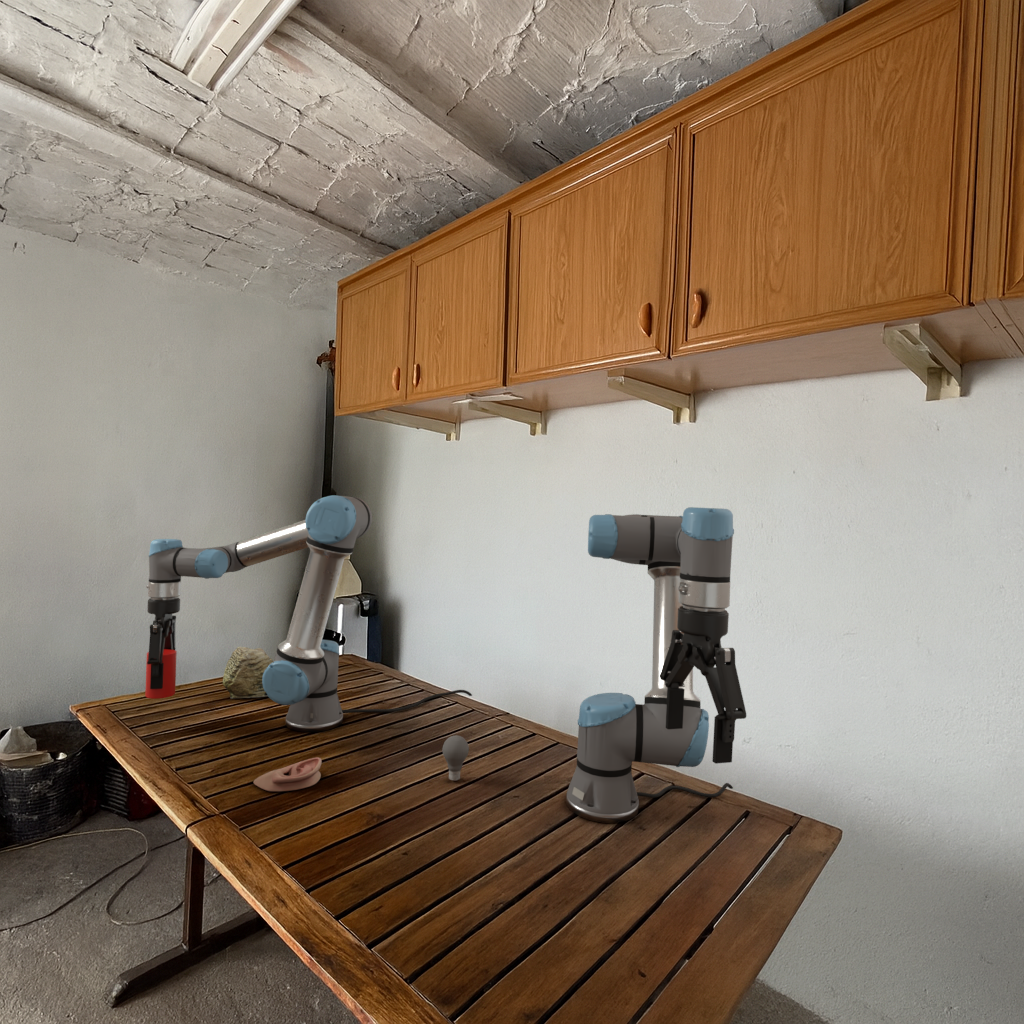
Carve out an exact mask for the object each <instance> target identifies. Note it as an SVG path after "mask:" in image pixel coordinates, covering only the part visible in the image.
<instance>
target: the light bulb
mask: <svg viewBox="0 0 1024 1024" xmlns="http://www.w3.org/2000/svg"><path fill="white" fill-rule="evenodd" d="M469 752H470V746H469V743H468V742H467V740H466V739H465V738H464V737H463V736H461V735H457V734H456V735H455V734H454V735H451V736H449V737H448V738H447V739H446V740H445V741H444V743H443V745H442V755H443V757H444V760H445V761H446V764H447V769H448V779H449V780H450V781H453V782H456V781H458V780H460V779H461V770H462V768H463V764H464V762H465V760H466V759H467V758H468V756H469Z"/></svg>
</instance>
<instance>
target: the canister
mask: <svg viewBox="0 0 1024 1024" xmlns="http://www.w3.org/2000/svg"><path fill="white" fill-rule="evenodd" d="M177 652H178V651H177V650H176V649H175V650H172V649H164V652H163V659H162V663H164V664H163V688H162V689H150V682H151V664H147V662H148V656H149V651H147V652H146V660H145V661H146V663H145V692H144V693H145V694H144V695H145V698H148V699H151V700H153V699H154V700H155V699H156V700H157V699H165V698H170V697H173V696H174V695H175V694H176V683H177V682H176V681H177V680H176V679H177V656H178V655H177V654H178V653H177ZM154 659H156V658H154Z"/></svg>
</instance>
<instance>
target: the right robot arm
mask: <svg viewBox="0 0 1024 1024" xmlns="http://www.w3.org/2000/svg"><path fill="white" fill-rule="evenodd" d="M734 534H735V529H734V514H733V511H732V510H731V509H728V508H718V507H717V508H715V507H693V506H690V507H686V508H685V509H684V510H683V514H682V515H678V516H677V515H674V516H673V515H657V514H656V515H653V514H652V515H651V514H637V513H636V514H635V513H634V514H633V513H632V514H624V515H620V514H619V515H617V514H611V513H610V514H609V513H606V514H593V515H591V516H590V518H589V521H588V535H587V553H588V555H589V556H590V557H593V558H598V559H599V558H601V559H604V560H614V561H617V562H621V563H625V564H631V565H639V566H647V575H648V576H649V577H650V578H651V579H652V580H653V617H652V618H653V622H652V625H653V626H652V629H653V630H652V666H651V667H652V669H651V671H652V674H651V675H652V676H651V689H650V690H649V691H648V692H647V693H646V694H645V695H644V704H642V703H641V704H640V703H636V700H635V697H633V696H632V695H631V694H628V693H622V692H602V693H597V694H593V695H590V696H588V697H586V698H584V699H583V700H582V701H581V703H580V706H579V713H578V714H579V715H578V719H577V725H578V731H577V732H578V733H577V750H576V767H575V769H574V772H573V775H572V778H571V780H570V782H569V786H568V788H567V791H566V798H565V799H566V801H565V802H566V806H567V807H568V808H567V809H569V811H571V812H572V813H574V815H577V816H578V817H581V818H583V819H585V820H589V821H592V822H596V823H603V824H604V823H605V824H618V823H624V822H627V821H630V820H632V819H633V818H635V817H636V816H638V813H639V808H640V806H639V805H640V800H639V797H643V798H644V797H645V798H651V799H656V798H660V797H661V796H663V795H664V794H665V793H666V792H667V791H671V790H675V791H676V790H677V791H682V792H687V793H690V794H693V795H695V796H699V797H703V798H708V799H709V798H717V797H720V796H721V795H722V794H723V793H724V792H725V790H726V789H727V788H728V789H731V790H732V789H734V787H733V785H731V784H730V783H729V782H726V783H725V782H724V784H723V785H722V787H721V788H720V789H719V791H717V792H715V793H706V792H701V791H697V790H695V789H691V788H689V787H685V786H681V785H669V786H665V787H664V788H663V789H661V790H660V791H659V792H657V793H648V792H640V791H637V789H636V785H635V781H634V777H633V773H632V771H633V770H632V767H633V766H632V765H633V762H635V763H643V764H651V765H662V766H671V767H672V766H673V767H676V768H680V767H685V768H686V767H687V768H696V767H698V766H699V765H700V764H701V763H702V762H703V760H704V757H705V753H706V750H707V746H708V745H707V744H708V738H709V730H710V722H709V720H710V715H709V712H708V710H706V709H704V708H701V699H700V698H699V697H698V696H697V694H695V692H694V668H696V669H697V670H699V671H700V674H701V675H702V676H704V677H705V680H706V683H707V687H708V689H709V692H710V694H711V698H712V701H713V703H714V706H715V709H716V712H717V714H716V715H715V716H714V721H713V722H714V723H713V742H712V743H713V744H712V760H711V761H712V762H713V763H714V764H728V763H732V762H733V746H734V741H735V732H736V720H742V719H743V720H744V719H746V718H747V711H746V706H745V702H744V697H743V692H742V688H741V684H740V679H739V675H738V670H737V666H736V650H735V648H734V647H722V643H721V642H722V641H721V639H722V638H723V637H725V636H726V635H728V633H729V616H730V613H729V612H728V610H727V608H729V607H730V603H731V570H732V569H731V568H732V554H733V553H732V552H733V538H734Z"/></svg>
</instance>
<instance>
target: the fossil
mask: <svg viewBox="0 0 1024 1024" xmlns="http://www.w3.org/2000/svg"><path fill="white" fill-rule="evenodd" d="M273 662H274V659H272V658H271V657H270V656H269V655H268V654H267V653H266V652H265V650H264V649H263V648H260V647H258V648H251V647H247V646H246V647H245V646H238V647H237V648H236V649H235V650H233V651H232V653H231V656H230V657H229V659H228V660H227V663H226V666H225V668H224V671H223V675H222V676H223V677H222V685H223V687H224V688H225V690H226V691H228V693H229V698H230V699H250V698H264V697H268V695H267V693H266V692H265V691H264V688H263V684H262V678H263V674H264V671H265V670H266V668H267V667H268V666H269V665H270V664H271V663H273Z"/></svg>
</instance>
